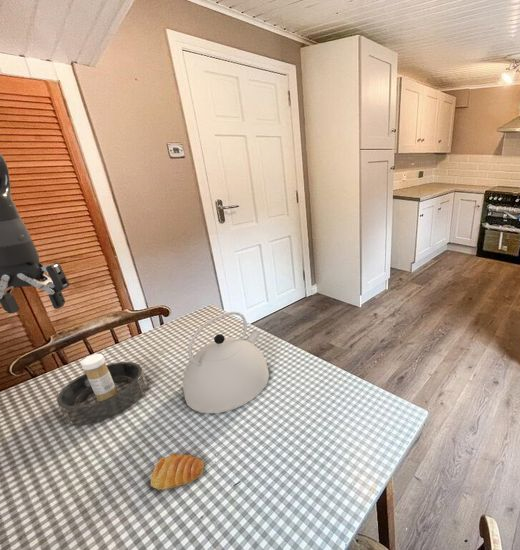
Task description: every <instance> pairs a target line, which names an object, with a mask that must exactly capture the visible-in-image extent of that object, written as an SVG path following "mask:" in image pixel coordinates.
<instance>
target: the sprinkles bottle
mask: <svg viewBox="0 0 520 550" xmlns="http://www.w3.org/2000/svg"><path fill="white" fill-rule="evenodd" d="M106 365H107V363H106V358H105V356H104V355H103V354H101V353H95V354H91V355H89V356H86V357H85V358H83V359H82V360H81V361H80V366H81V368H82V370H83V371H84V373H86V375H87V377H88V380H89V382H90V384H91V387H92V389H93V391H94V393H93V394H94V395H95V397H96V400H97V402H100V401H103V400H105V399H107V398H110V397H112V396H114V395H116V394H118V393H119V391H118V390H117V388H116V384H114V382H113V380H112V377H111V375H110V372H109V370H108V368H107V366H106Z"/></svg>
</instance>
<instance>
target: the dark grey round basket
mask: <svg viewBox="0 0 520 550" xmlns="http://www.w3.org/2000/svg"><path fill="white" fill-rule="evenodd" d="M106 366H107V368H108V370H109V372H110V375H111V377H112V380H113V382H114V385H116V384H122V383H124V384H129V385H128V386H127V387H125V388H124V389H122V390H121V391H118V394H116V395H114V396H112V397H110V398H107V399H105V400H103V401H100V402H98V401H97V402H94V403H91V404H85V405H82V404H83V402H84V401H85V400H86V399H88V398H89V397H91V396H92V395H93V394H95V393H94V391H93V389H92V387H91V384H90V382H89V380H88V377H87V375H86V372H84V373H83V374H81V375H79V376H77V377H76V378H74V379H73V380H72V381H70V382H69V383H67V384H66V385H65V386H64V387H63V388H62V389H61V390H60V392H59V393H58V396H57V397H56V402H57V405H58V407H59V409H60V412H61V413H62V415H63V417H64V419H65V421H66V422H67V423H69V424H71V425H79V426H85V425H91V424H97V423H100V422H103V421H106V420H108V419H111V418H113V417H116V416H117V415H119V414H121V413H123V412H125V411H126V410H128V409H130V407H133V405H135V404H136V403H137V402H138V401H139V400H140V399H141V398H142V397H143V396H144V394H145V392H146V391H147V389H148V382H147V378H146V375H145V373H144V370H143V367H142V366H141V365H140V364H138V363H137V362H133V361H119V362H113V363H109V364H106Z"/></svg>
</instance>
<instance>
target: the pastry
mask: <svg viewBox="0 0 520 550" xmlns="http://www.w3.org/2000/svg"><path fill="white" fill-rule="evenodd" d="M204 466H205V463H204V461H203V460H201V459H199V458H197V456H193V455H190V454H185V453H179V454H177V453H172V454H170V455H169V456H165V457H162V458H160V459H159V460H158V461H157V462H156V463H155V465H154V467H153V471H152V472H151V476H150V486H151V488H153V489H155V490H159V491H164V490H169V489H174V488H177V487H181V486H184V485H187V484H191V483H193V482H194V481H195V480H197V479H199V478H200V477H201V476H202V475H203V472H204V468H205V467H204Z"/></svg>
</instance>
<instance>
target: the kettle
mask: <svg viewBox="0 0 520 550" xmlns="http://www.w3.org/2000/svg"><path fill="white" fill-rule="evenodd" d="M232 315H235V316H239V317H240V318H241V320H242V322H243V332H242V336H241V338H236V337H225V336H224V335H223V334H221V333H218V334H216V335H215V336H214V338H213V341H211V342H209V343H207V344H206V345H205V346H203V347H201V349H199V350H198V351H197V352H196V353H195V354H194V355H193V347H194V342H195V340H196V338H197V337H198V335H199V334H200V333H201V332H202V331H203V329H204V328H206V327H207V326H209V325H211V324H212V323H214V322H215V321H218V320H220V319H223V318H224V317H227V316H232ZM247 329H248V323H247V319H246V317H245V316H244V315H243V314H242V313H241V312H238V311H228V312H224V313H222V314H220V315H217V316H215V317H213V318H211V319H209V320H207V321H206V322H205V323H203V324H202V325H200V327H199V328H198V329H197V330H195V332H194V333H193V335H192V337H191V338H190V341H189V343H188V347H187V348H188V349H187V352H188V359H189V362H188V363H187V366H186V367H185V371H184V374H183V379H182V391H183V392H182V393H183V396H184V400H185V403H186V404H187V406H188V407H189V408H191V410H193V411H196V412H198V413H202V414H218V413H225V412H229V411H232V410H235V409H237V408H240V407H242V406H244V405H245V404H247V403H250V402H251V401H252V400H253V399H255V398H256V397H257V396H258V395H260V394H261V392H262V391H263V390H264V389H265V387H266V386H267V384H268V381H269V377H270V372H269V367H268V363H267V360H266V358H265V356H264V354H263V353H262V351H261V350H260V349H259V348H258V347H257V346H256V345H255V344H256V342H257V340H258V338H259V336H260V334H261V331H260V330H253V331H252V332H251V333H250V334H249V336H248V337H246V335H247Z"/></svg>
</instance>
